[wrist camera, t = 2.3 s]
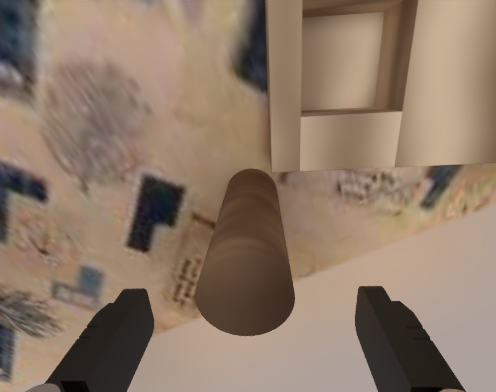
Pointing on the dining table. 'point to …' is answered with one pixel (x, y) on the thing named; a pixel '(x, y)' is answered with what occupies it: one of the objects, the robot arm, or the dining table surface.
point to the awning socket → (380, 83)
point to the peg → (247, 261)
